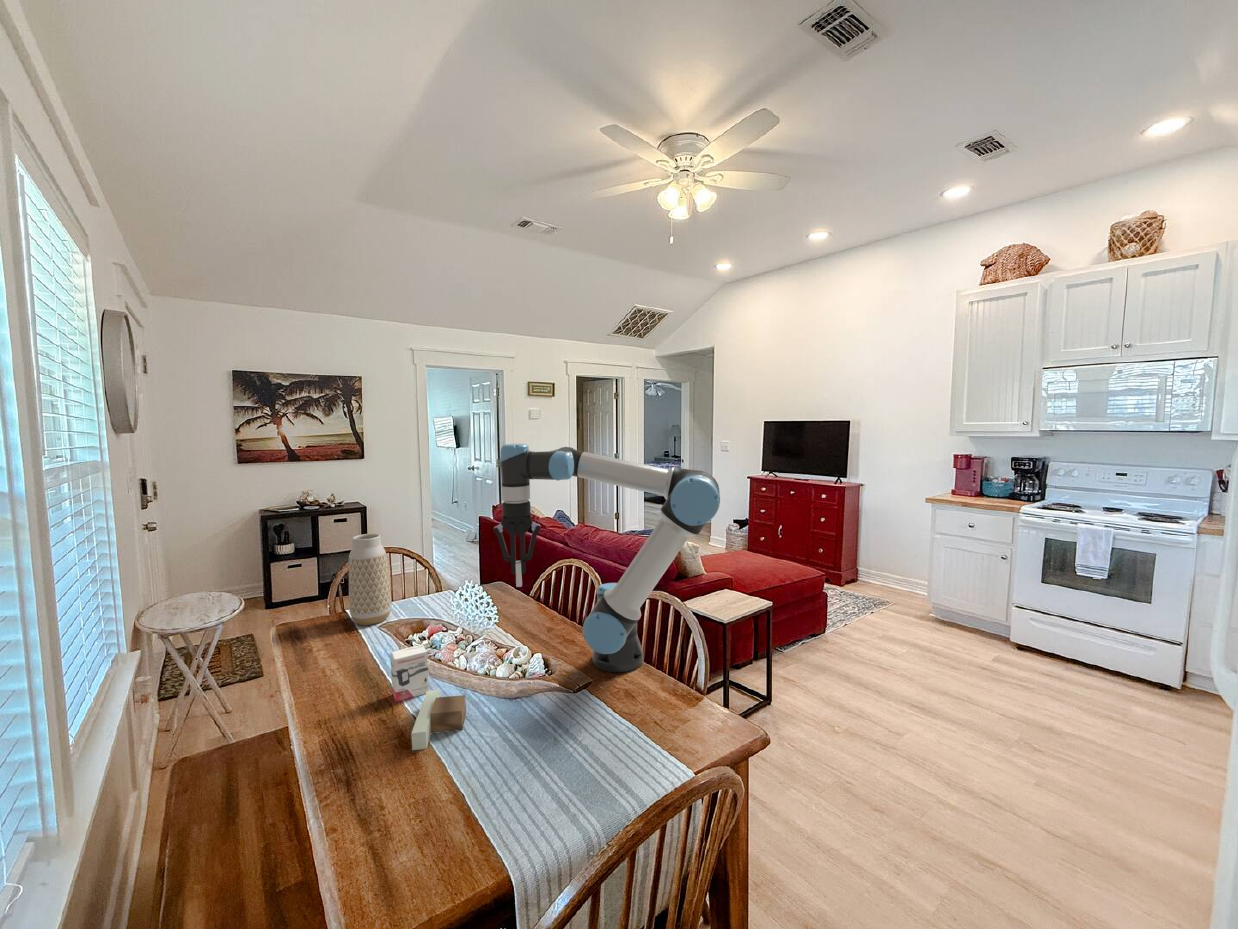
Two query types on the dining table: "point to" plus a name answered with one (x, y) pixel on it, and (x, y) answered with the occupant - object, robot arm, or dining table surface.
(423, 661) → the ink box
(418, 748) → the board
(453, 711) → the push block
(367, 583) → the vase
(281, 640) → the dining table surface
